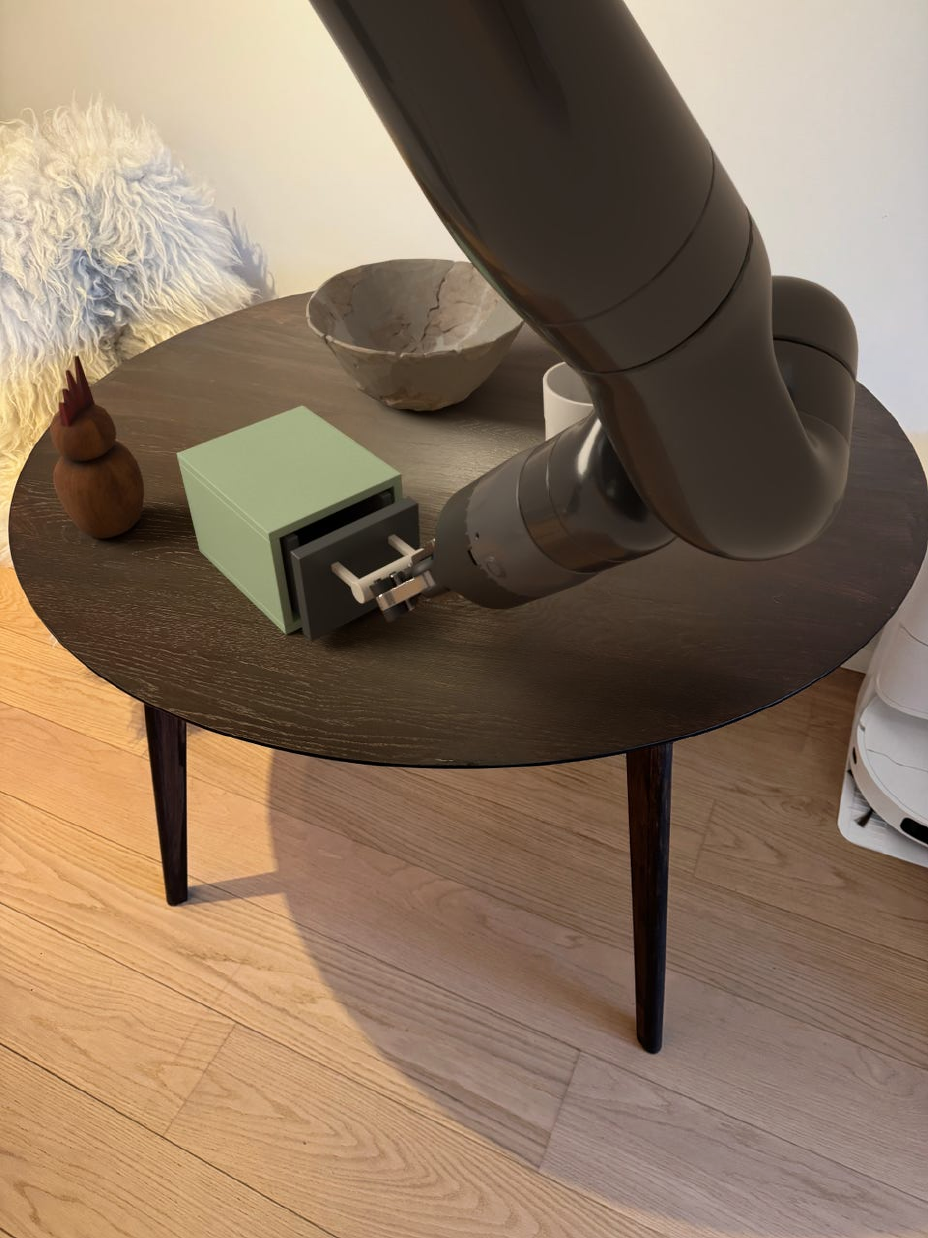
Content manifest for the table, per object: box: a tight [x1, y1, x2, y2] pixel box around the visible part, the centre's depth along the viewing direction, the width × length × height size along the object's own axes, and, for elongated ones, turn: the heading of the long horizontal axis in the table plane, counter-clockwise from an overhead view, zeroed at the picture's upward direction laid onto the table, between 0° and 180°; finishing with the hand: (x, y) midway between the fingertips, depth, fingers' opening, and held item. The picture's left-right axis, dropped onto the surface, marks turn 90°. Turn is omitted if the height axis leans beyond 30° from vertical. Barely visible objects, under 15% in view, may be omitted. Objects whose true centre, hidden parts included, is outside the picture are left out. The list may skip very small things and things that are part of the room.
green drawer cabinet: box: [176, 405, 404, 636], centre depth 75 cm, size 14×12×10 cm
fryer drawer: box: [279, 490, 425, 642], centre depth 72 cm, size 17×10×8 cm, turn 40°
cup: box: [542, 361, 594, 441], centre depth 80 cm, size 8×8×12 cm
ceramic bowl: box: [305, 258, 526, 412], centre depth 96 cm, size 22×23×10 cm
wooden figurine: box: [49, 355, 145, 539], centre depth 77 cm, size 7×6×15 cm
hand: (403, 589), depth 65 cm, fingers closed
